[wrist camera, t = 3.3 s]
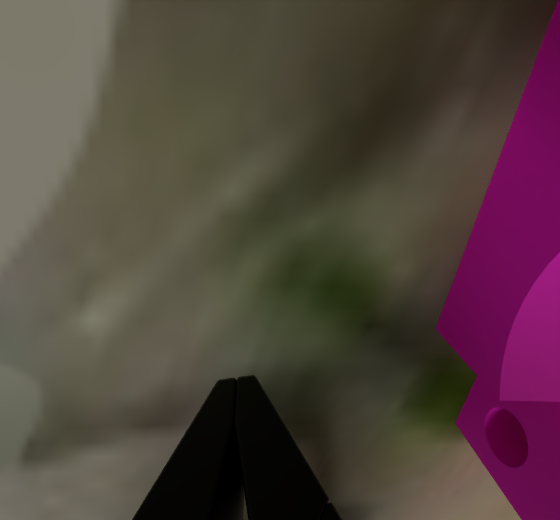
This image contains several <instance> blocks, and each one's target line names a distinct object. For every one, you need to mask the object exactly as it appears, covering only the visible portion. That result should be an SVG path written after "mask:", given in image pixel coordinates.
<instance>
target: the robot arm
mask: <svg viewBox="0 0 560 520" xmlns="http://www.w3.org/2000/svg"><path fill="white" fill-rule="evenodd" d="M244 492H245V499H246V506H247V513H248V520H342V519H341V517H340V516H339V514H338V512H337V511H336V509H335V507H334V506H333V504H332V503H329V498H328V496H327V495H326V493H325V491H324V490H323V488H322V486H321V485H320V483H319V481H318V480H317V478H316V476H315V475H314V473H313V471H312V470H311V468H310V466H309V465H308V463H307V461H306V460H305V458H304V456H303V455H302V453H301V451H300V450H299V448H298V446H297V445H296V443H295V441H294V440H293V438H292V436H291V435H290V433H289V431H288V430H287V428H286V426H285V425H284V423H283V421H282V420H281V418H280V416H279V415H278V413H277V411H276V410H275V408H274V406H273V405H272V403H271V401H270V400H269V398H268V396H267V395H266V393H265V391H264V390H263V388H262V386H261V385H260V383H259V381H258V380H257V378H256V377H255V376H254V375H250V376H242V377H238V379H237V380H236V379H235V378H227V379H220V380H218V381H217V383H216V384H215V386H214V387H213V389H212V391H211V392H210V394H209V396H208V397H207V399H206V400H205V402H204V404H203V405H202V407H201V409H200V410H199V412H198V413H197V415H196V417H195V418H194V420H193V422H192V423H191V425H190V426H189V428H188V430H187V431H186V433H185V435H184V436H183V438H182V439H181V441H180V443H179V444H178V446H177V448H176V449H175V451H174V452H173V454H172V456H171V457H170V459H169V461H168V462H167V464H166V465H165V467H164V469H163V470H162V472H161V474H160V475H159V477H158V479H157V480H156V482H155V483H154V485H153V487H152V488H151V490H150V492H149V493H148V495H147V496H146V498H145V500H144V501H143V503H142V505H141V506H140V508H139V509H138V511H137V513H136V514H135V516H134V518H133V519H132V520H243V508H244Z"/></svg>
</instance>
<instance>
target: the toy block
mask: <svg viewBox="0 0 560 520" xmlns="http://www.w3.org/2000/svg"><path fill="white" fill-rule="evenodd" d="M436 330H437V331H438V332H439V333H440V335H441V336H442V337H443V338H444V339H445V340H446V341H447V342H448V344H449V345H450V346H451V347H452V348H453V349H454V350H455V351H456V353H457V354H458V355H459V356H460V357H461V358H462V359H463V360H464V361H465V363H466V364H467V365H468V366H469V367H470V368H471V369H472V370H473V372H474V373H475V374H476V375H477V377H476V379H475V381H474V383H473V385H472V388H471V390H470V392H469V394H468V396H467V399H466V401H465V403H464V405H463V407H462V409H461V412H460V414H459V416H458V418H457V420H456V423H455V424H456V425H457V426H458V428H459V429H460V431H461V432H462V434H463V435H464V437H465V438H466V440H467V441H468V442H469V444H470V445H471V447H472V448H473V450H474V451H475V453H476V454H477V456H478V457H479V458H480V460H481V461H482V463H483V464H484V466H485V467H486V469H487V470H488V472H489V473H490V474H491V476H492V477H493V479H494V480H495V482H496V483H497V485H498V486H499V487H500V489H501V490H502V492H503V493H504V495H505V496H506V498H507V499H508V501H509V502H510V503H511V505H512V506H513V508H514V509H515V511H516V512H517V514H518V515H519V517H520V518H521V519H522V520H560V0H558V1H557V4H556V6H555V9H554V12H553V14H552V17H551V20H550V22H549V25H548V28H547V31H546V33H545V36H544V39H543V41H542V44H541V47H540V49H539V52H538V55H537V57H536V60H535V63H534V65H533V68H532V71H531V74H530V76H529V79H528V82H527V84H526V87H525V90H524V92H523V95H522V98H521V100H520V103H519V106H518V108H517V111H516V114H515V117H514V119H513V122H512V125H511V127H510V130H509V133H508V135H507V138H506V141H505V143H504V146H503V149H502V151H501V154H500V157H499V159H498V162H497V165H496V168H495V170H494V173H493V176H492V178H491V181H490V184H489V186H488V189H487V192H486V194H485V197H484V200H483V202H482V205H481V208H480V211H479V213H478V216H477V219H476V221H475V224H474V227H473V229H472V232H471V235H470V237H469V240H468V243H467V245H466V248H465V251H464V254H463V256H462V259H461V262H460V264H459V267H458V270H457V272H456V275H455V278H454V280H453V283H452V286H451V288H450V291H449V294H448V297H447V299H446V302H445V305H444V307H443V310H442V313H441V315H440V318H439V321H438V323H437V326H436Z"/></svg>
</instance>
